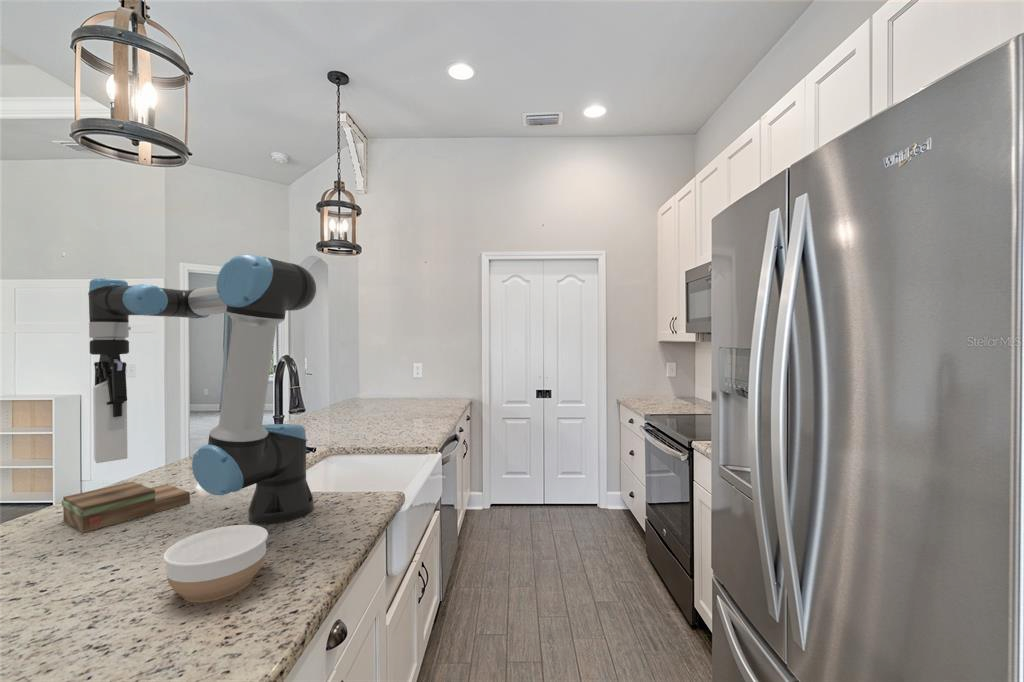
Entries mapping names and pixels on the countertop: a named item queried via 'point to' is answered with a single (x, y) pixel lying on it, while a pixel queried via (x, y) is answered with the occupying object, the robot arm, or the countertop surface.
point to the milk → (107, 428)
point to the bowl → (215, 562)
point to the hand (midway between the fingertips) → (110, 427)
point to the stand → (119, 504)
